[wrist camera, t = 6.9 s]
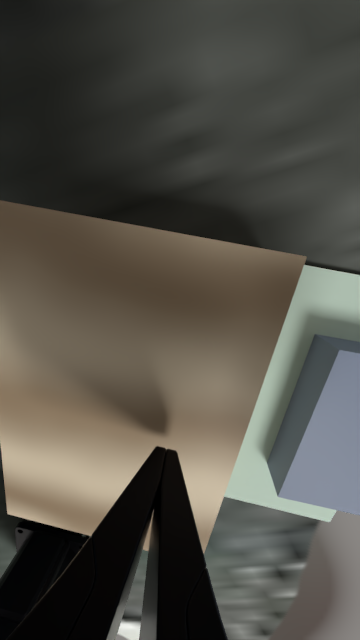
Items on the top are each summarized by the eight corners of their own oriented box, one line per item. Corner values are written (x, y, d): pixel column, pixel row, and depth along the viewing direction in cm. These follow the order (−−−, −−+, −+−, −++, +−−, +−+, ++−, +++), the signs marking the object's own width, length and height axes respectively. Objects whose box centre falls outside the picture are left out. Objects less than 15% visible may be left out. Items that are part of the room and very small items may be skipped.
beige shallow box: (200, 486, 15) (200, 564, 11) (56, 450, 15) (7, 514, 11) (267, 258, 10) (307, 256, 6) (57, 219, 11) (-24, 196, 7)
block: (277, 497, 11) (266, 462, 13) (390, 522, 11) (362, 483, 13) (339, 349, 9) (314, 334, 11) (489, 377, 8) (435, 355, 10)
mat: (327, 517, 14) (329, 522, 14) (200, 486, 15) (200, 490, 14) (456, 293, 10) (464, 294, 9) (267, 258, 10) (269, 258, 10)
